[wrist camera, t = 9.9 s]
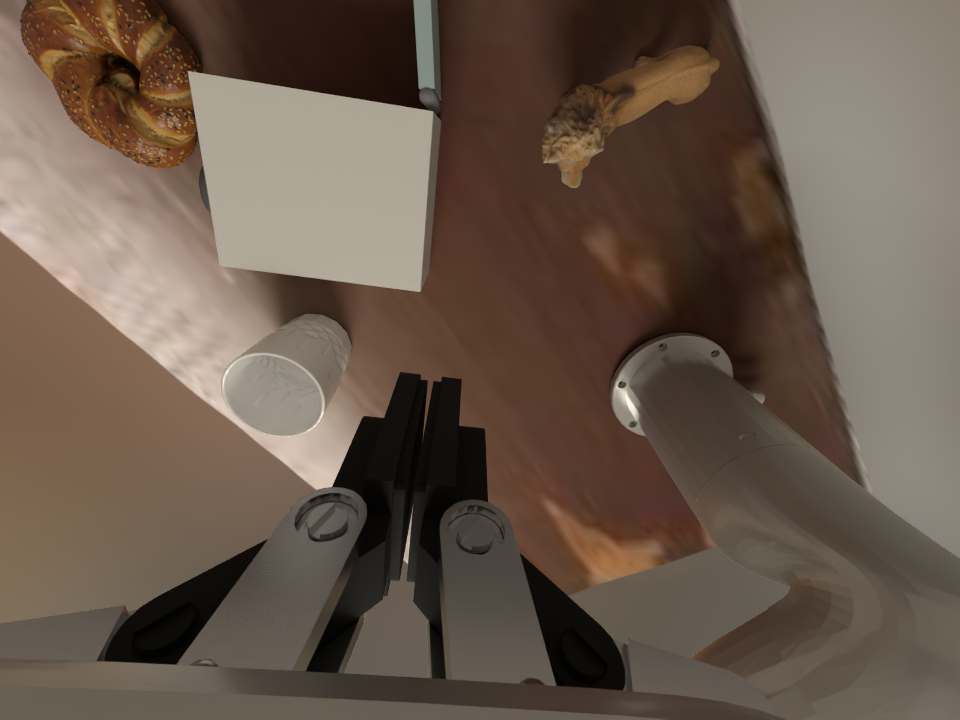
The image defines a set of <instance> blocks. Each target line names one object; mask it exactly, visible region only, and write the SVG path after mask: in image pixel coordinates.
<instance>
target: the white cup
mask: <svg viewBox="0 0 960 720" xmlns="http://www.w3.org/2000/svg"><path fill="white" fill-rule="evenodd" d="M351 350H352V345H351V342H350V339H349V336H348V333H347V332H346V331H345V330H344V329H343V328H342V327H341V326H340V325H339V323H338V322H337V321H335V320H332V319H330V318H328V317H326V316H324V315H322V314H304V315H301V316H299V317H297V318H294V319H292V320H291V321H289V322H288V323H287V324H285V325H283V326H282V327H280V328H278V329H277V330H275V331H274V332H273V333H271V334H270V335H268V336H266V337H265V338H263V339H262V340H261V341H259V342H258V343H257V344H255V345H254V346H253V347H251V348H250V349H249V350H247V351H246V352H244V353H243V354H242V355H240V356H239V357H237V358H236V359H235V360H233V361H232V362H231V363H230V364H229V365H228V366H227V368H226V369H225V371H224V373H223V376H222V380H221V390H222V395H223V398H224V400H225V402H226V404H227V406H228V408H229V409H230V410H231V412H232V413H233V414H234V415H235V416H236V417H237V418H238V419H239V420H240V421H241V422H243V423H244V424H245V425H247V426H248V427H250V428H252V429H254V430H256V431H258V432H261V433H263V434H267V435H271V436H276V437H293V436H298V435H301V434H304V433H306V432H308V431H310V430H311V429H313V428H314V427H315V426H316V425H317V424H318V423H319V422H320V420H321V418H322V416H323V414H324V412H325V410H326V408H327V406H328V405H329V403H330V401H331V399H332V397H333V395H334V393H335V391H336V389H337V387H338V385H339V382H340V380H341V378H342V376H343V374H344V371H345V368H346V366H347V364H348V362H349V360H350V356H351Z"/></svg>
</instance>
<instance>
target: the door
mask: <svg viewBox="0 0 960 720" xmlns="http://www.w3.org/2000/svg"><path fill="white" fill-rule="evenodd" d="M414 16H415V33H416V49H417V66H418V83H419V89H420V93H419V98H420V101H421V102H422V103H423V104H424V106H425V107H426V108H427V109H428V110H429V111H433V112H434V113H435V114H436V115H437V114H439V113H440V112H441V110H442V106H441V103H440V101H441V75H440V49H439V23H438V0H414Z"/></svg>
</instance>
